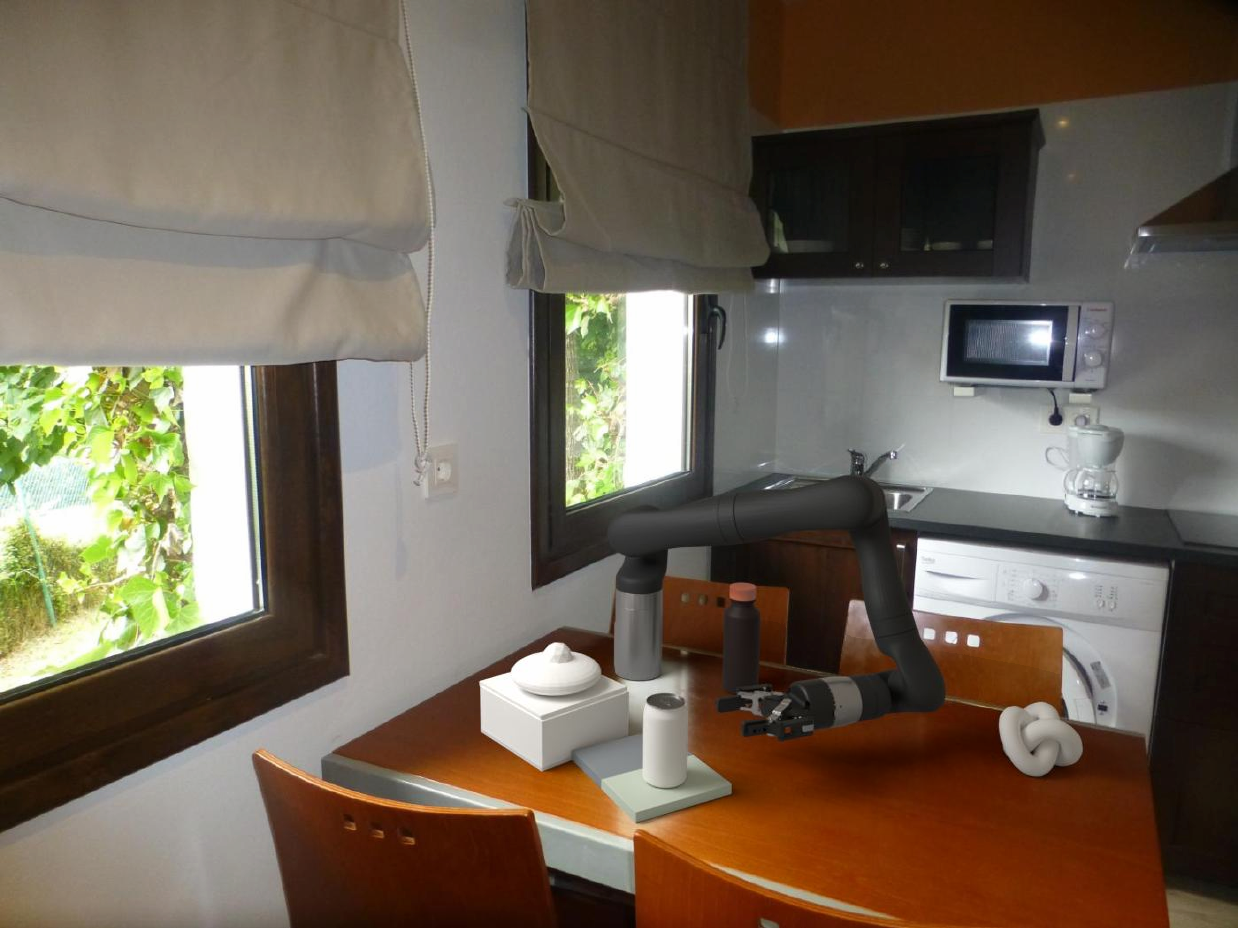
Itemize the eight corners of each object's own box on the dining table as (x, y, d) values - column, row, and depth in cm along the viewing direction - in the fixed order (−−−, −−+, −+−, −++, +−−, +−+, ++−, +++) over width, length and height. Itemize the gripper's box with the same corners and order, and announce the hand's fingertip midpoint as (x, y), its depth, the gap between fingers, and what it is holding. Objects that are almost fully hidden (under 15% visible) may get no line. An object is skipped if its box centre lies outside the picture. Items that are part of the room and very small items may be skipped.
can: (686, 768, 127) (688, 692, 125) (686, 790, 120) (688, 710, 119) (643, 766, 127) (644, 690, 126) (641, 788, 121) (642, 708, 119)
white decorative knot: (1038, 792, 124) (1043, 734, 122) (972, 756, 134) (976, 702, 133) (1090, 775, 128) (1095, 719, 127) (1022, 742, 139) (1026, 690, 138)
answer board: (571, 759, 132) (571, 750, 132) (659, 737, 140) (659, 728, 140) (635, 822, 115) (635, 812, 115) (731, 793, 123) (731, 783, 122)
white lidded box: (542, 772, 129) (541, 672, 126) (479, 731, 142) (477, 640, 140) (628, 738, 140) (629, 646, 138) (563, 703, 154) (562, 618, 151)
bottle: (732, 678, 165) (735, 579, 162) (764, 687, 161) (767, 585, 158) (715, 690, 159) (718, 587, 156) (748, 699, 155) (751, 593, 153)
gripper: (801, 663, 137) (709, 675, 132) (851, 698, 124) (752, 712, 119) (799, 707, 138) (708, 720, 133) (849, 746, 125) (750, 763, 120)
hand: (729, 717), depth 126 cm, fingers open, 8 cm apart
